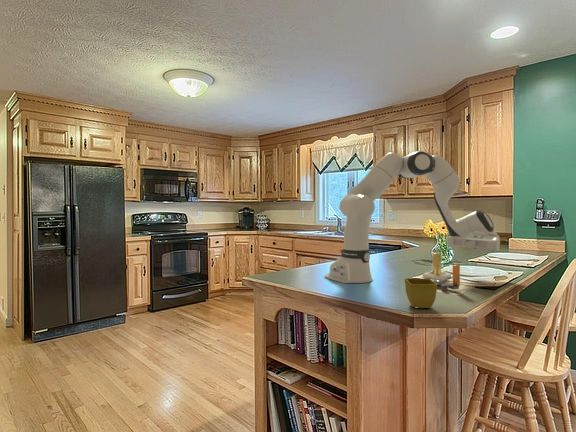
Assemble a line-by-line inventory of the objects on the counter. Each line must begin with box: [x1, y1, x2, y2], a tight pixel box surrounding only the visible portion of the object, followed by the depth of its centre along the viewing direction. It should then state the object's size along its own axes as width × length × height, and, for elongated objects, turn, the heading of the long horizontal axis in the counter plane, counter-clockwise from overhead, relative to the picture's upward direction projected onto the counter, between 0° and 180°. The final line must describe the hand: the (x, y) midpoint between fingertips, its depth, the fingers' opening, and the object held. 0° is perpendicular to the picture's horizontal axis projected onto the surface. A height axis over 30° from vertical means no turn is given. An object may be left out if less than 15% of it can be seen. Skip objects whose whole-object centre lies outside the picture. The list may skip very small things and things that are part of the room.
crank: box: [433, 264, 461, 290], centre depth 142 cm, size 12×5×9 cm, turn 24°
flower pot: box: [404, 277, 437, 309], centre depth 122 cm, size 9×9×9 cm
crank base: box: [431, 279, 476, 296], centre depth 145 cm, size 18×17×3 cm
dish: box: [422, 270, 452, 281], centre depth 163 cm, size 9×9×2 cm
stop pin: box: [431, 252, 442, 276], centre depth 163 cm, size 4×4×11 cm
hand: (465, 244), depth 147 cm, fingers closed
